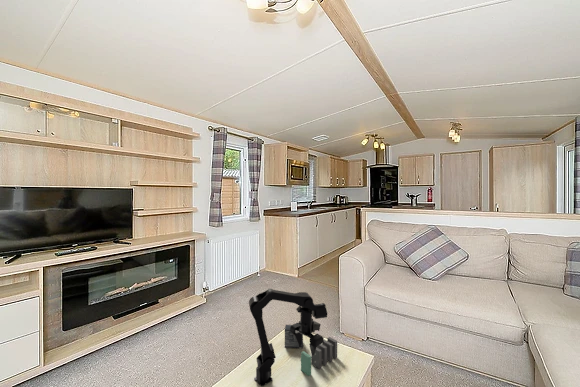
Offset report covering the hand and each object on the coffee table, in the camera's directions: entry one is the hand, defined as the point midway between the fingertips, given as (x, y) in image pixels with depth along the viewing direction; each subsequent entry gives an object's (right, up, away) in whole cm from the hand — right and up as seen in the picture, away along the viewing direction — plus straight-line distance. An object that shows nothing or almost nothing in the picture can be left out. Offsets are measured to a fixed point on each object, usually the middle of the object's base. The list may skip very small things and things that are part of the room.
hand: (306, 350), depth 129 cm
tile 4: (+12, -11, +10) cm, 19 cm away
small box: (-6, -11, +23) cm, 27 cm away
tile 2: (+5, -11, +5) cm, 13 cm away
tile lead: (0, -11, 0) cm, 11 cm away
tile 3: (+9, -11, +7) cm, 16 cm away
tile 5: (+15, -11, +13) cm, 23 cm away
